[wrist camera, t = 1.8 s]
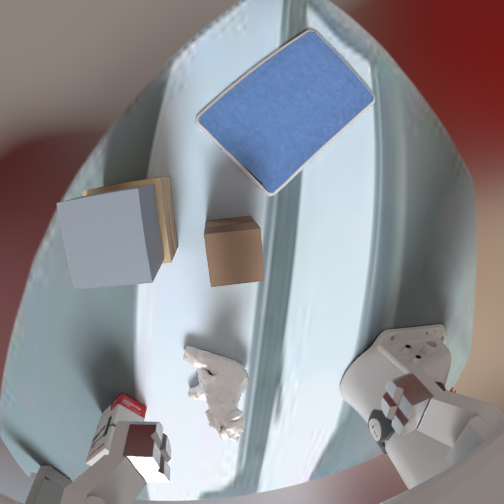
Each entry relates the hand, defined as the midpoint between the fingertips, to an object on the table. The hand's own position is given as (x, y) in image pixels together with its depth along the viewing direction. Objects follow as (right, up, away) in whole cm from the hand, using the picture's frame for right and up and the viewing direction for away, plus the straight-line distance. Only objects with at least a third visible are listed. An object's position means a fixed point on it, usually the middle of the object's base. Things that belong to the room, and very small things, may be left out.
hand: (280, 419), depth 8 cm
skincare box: (-54, -54, +35) cm, 84 cm away
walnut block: (-3, +7, +24) cm, 25 cm away
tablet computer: (+4, +23, +21) cm, 31 cm away
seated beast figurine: (-6, -11, +29) cm, 31 cm away
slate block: (-13, +8, +16) cm, 22 cm away
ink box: (-22, -20, +29) cm, 42 cm away
